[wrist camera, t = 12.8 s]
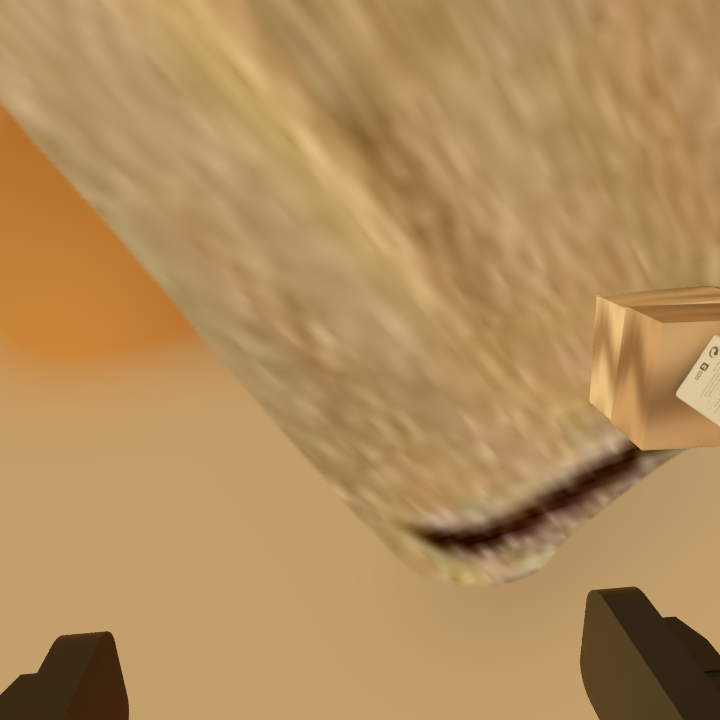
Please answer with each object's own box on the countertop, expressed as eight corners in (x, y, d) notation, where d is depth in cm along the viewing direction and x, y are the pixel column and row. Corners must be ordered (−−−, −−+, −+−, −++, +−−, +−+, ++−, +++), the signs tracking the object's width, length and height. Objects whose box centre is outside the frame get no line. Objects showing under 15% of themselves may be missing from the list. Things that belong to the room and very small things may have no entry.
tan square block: (626, 306, 36) (662, 323, 32) (747, 301, 37) (797, 318, 33) (610, 422, 39) (642, 450, 35) (723, 416, 39) (767, 443, 36)
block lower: (595, 294, 40) (625, 308, 36) (707, 285, 40) (747, 297, 37) (588, 400, 43) (614, 423, 39) (693, 390, 43) (729, 412, 39)
